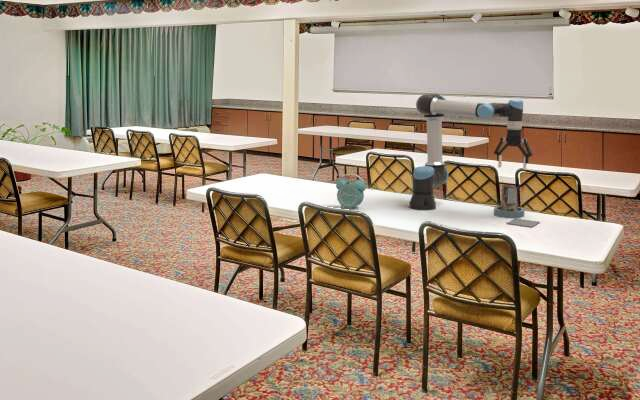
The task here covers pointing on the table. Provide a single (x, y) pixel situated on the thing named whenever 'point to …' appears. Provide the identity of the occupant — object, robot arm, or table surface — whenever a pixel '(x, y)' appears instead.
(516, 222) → the mat
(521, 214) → the bowl
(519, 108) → the robot arm
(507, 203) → the coffee box
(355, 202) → the alarm clock
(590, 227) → the table surface
